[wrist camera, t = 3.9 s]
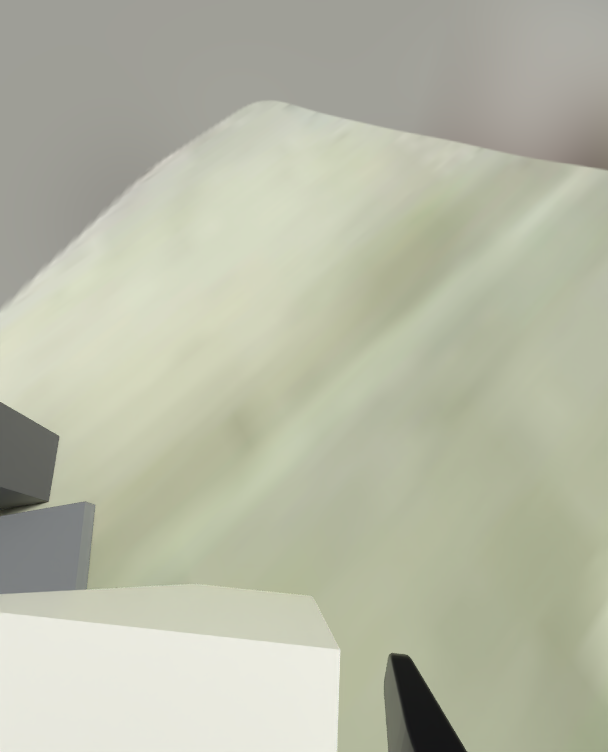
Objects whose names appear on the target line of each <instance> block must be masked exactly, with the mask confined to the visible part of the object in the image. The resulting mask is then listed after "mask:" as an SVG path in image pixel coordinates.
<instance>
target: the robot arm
mask: <svg viewBox="0 0 608 752" xmlns="http://www.w3.org/2000/svg"><path fill="white" fill-rule="evenodd" d="M384 699H385V712H386V725H387V738H388V751H389V752H467V751H466V749H465V748H464V746H463V744H462V743H461V741H460V739H459V738H458V736H457V734H456V733H455V731H454V729H453V728H452V726H451V724H450V723H449V721H448V719H447V718H446V716H445V714H444V713H443V711H442V709H441V708H440V706H439V704H438V703H437V701H436V699H435V698H434V696H433V694H432V693H431V691H430V689H429V688H428V686H427V684H426V683H425V681H424V679H423V678H422V676H421V674H420V672H419V671H418V669H417V667H416V666H415V664H414V662H413V661H412V659H411V658H410V657H409V656H408V655H406V654H397V653H391V654H390V655H389V657H388V662H387V667H386V673H385V679H384Z"/></svg>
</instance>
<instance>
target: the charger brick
mask: <svg viewBox="0 0 608 752" xmlns="http://www.w3.org/2000/svg"><path fill="white" fill-rule="evenodd" d="M339 672H340V648H339V646H338V645H337V643H336V641H335V639H334V637H333V635H332V633H331V631H330V629H329V627H328V625H327V623H326V621H325V619H324V617H323V616H322V614H321V612H320V610H319V608H318V606H317V604H316V602H315V600H314V598H313V596H309V595H300V594H290V593H280V592H271V591H261V590H251V589H242V588H232V587H222V586H213V585H203V584H181V585H162V586H144V587H125V588H107V589H88V590H70V591H51V592H33V593H14V594H0V752H337V735H338V703H339Z"/></svg>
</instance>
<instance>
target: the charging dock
mask: <svg viewBox="0 0 608 752" xmlns="http://www.w3.org/2000/svg"><path fill="white" fill-rule="evenodd" d="M58 441H59V436H58V435H56V434H55V433H53V432H51V431H49V430H48V429H46V428H44V427H43V426H41V425H39V424H37V423H36V422H34V421H32V420H31V419H29V418H27V417H25V416H24V415H22V414H20V413H18V412H17V411H15V410H13V409H12V408H10V407H8V406H6V405H5V404H3V403H1V402H0V510H1V509H7V508H13V507H19V506H24V505H30V504H36V503H42V502H48V501H49V496H50V490H51V484H52V478H53V472H54V466H55V460H56V453H57V447H58ZM94 512H95V505H94V504H91V503H88V502H80V503H74V504H68V505H62V506H56V507H51V508H45V509H39V510H33V511H27V512H22V513H16V514H10V515H4V516H0V594H14V593H33V592H51V591H70V590H86V589H87V579H88V570H89V560H90V550H91V541H92V531H93V521H94Z"/></svg>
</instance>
